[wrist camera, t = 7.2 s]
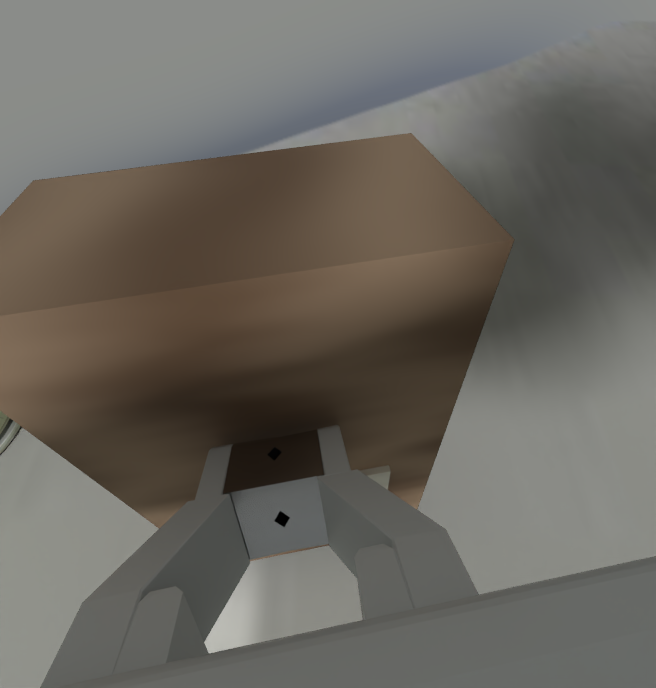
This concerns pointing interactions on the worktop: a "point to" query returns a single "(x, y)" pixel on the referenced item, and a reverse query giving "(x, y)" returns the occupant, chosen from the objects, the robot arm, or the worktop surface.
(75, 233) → the cardboard box
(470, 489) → the worktop surface
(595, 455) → the worktop surface
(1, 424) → the coffee can
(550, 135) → the worktop surface
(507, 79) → the worktop surface
